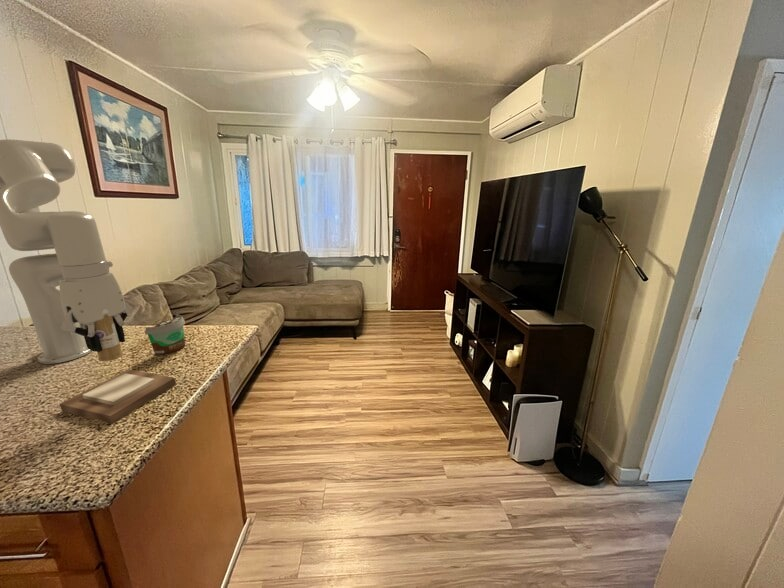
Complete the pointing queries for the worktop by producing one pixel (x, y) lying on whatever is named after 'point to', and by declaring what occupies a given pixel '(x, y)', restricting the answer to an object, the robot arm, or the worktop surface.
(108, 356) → the sprinkles bottle
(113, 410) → the stacking base
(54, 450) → the worktop surface
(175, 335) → the food container
